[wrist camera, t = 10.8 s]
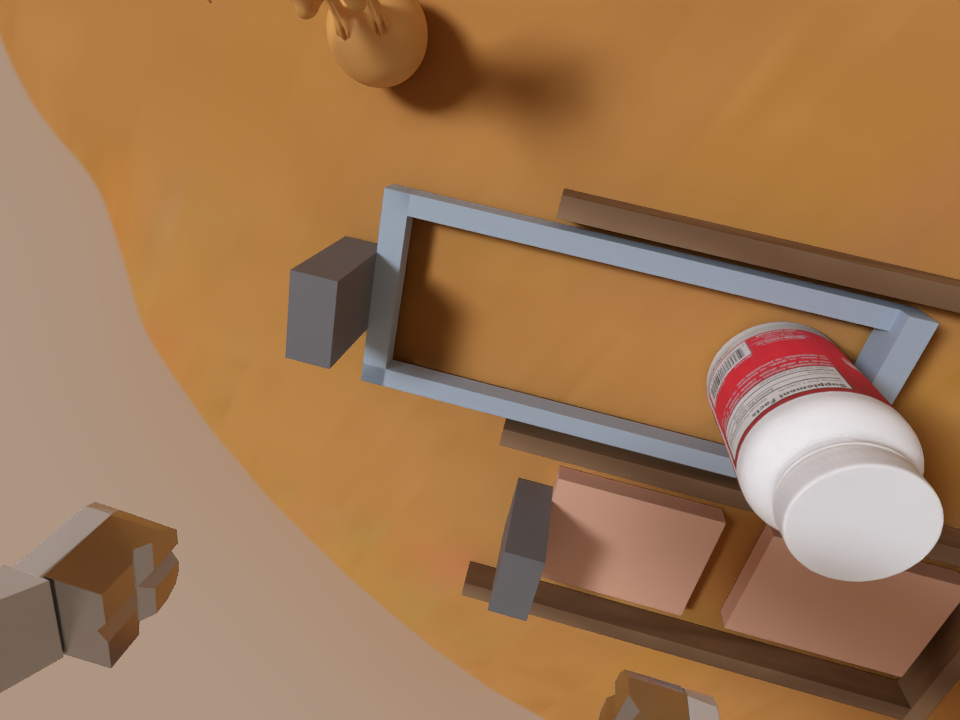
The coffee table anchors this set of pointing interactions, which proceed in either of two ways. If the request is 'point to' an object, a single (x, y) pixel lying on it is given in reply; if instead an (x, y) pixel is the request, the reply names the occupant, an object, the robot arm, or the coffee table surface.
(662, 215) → the lane frame
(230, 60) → the coffee table surface
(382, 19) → the figurine
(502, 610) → the broken strip
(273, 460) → the coffee table surface
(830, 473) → the pill bottle
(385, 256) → the sliding drawer
